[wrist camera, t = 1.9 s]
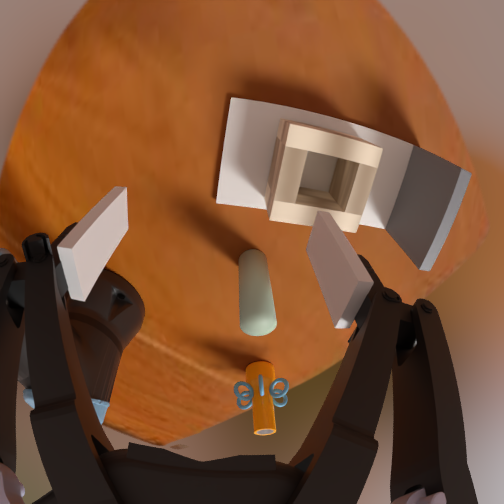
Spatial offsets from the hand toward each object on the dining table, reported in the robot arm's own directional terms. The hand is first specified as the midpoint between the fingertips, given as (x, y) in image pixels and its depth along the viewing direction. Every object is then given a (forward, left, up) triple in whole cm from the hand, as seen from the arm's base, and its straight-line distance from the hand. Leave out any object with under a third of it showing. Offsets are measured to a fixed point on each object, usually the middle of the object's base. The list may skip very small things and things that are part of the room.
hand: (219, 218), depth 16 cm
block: (+10, 0, -18) cm, 21 cm away
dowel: (+5, -15, -18) cm, 24 cm away
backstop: (+12, 0, -18) cm, 22 cm away
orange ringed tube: (+11, -42, -18) cm, 47 cm away
